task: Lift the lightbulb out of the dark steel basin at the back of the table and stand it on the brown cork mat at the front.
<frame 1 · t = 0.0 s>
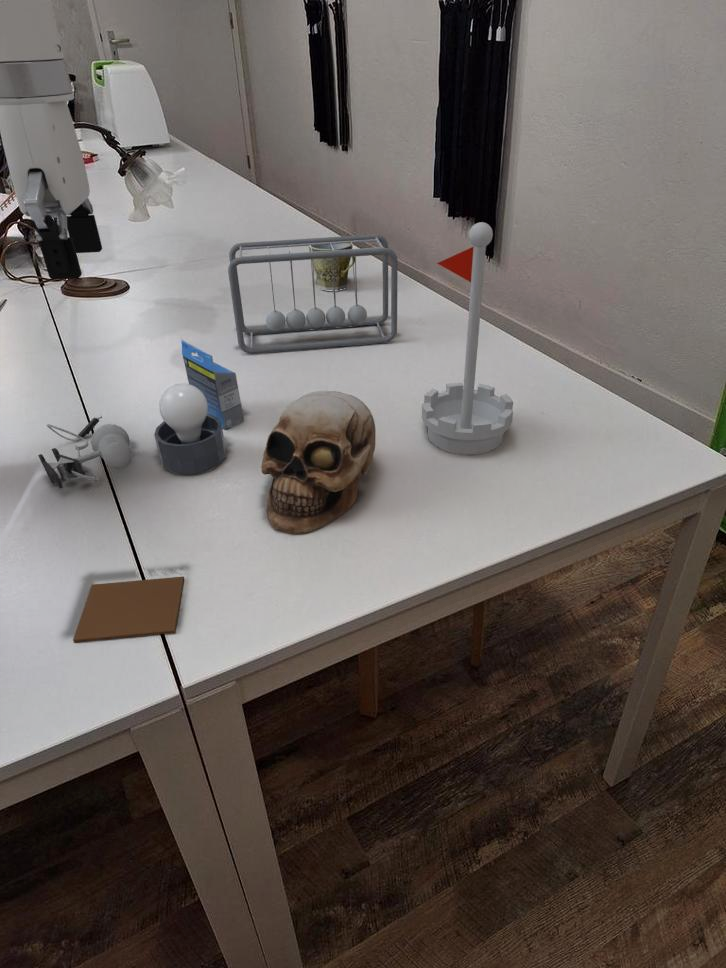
hand: (78, 264, 72), 29 cm above the table, tool pointing down, fingers open, 9 cm apart
newton's cradle: (317, 339, 128), on the table
mat: (132, 609, 69), on the table
lightbulb: (194, 457, 93), resting on basin
flag stand: (465, 435, 97), on the table
clip-on lamp: (90, 463, 93), on the table
label tape box: (218, 417, 103), on the table
ceramic cup: (336, 289, 152), on the table
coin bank: (320, 490, 86), on the table
basin: (194, 459, 93), on the table
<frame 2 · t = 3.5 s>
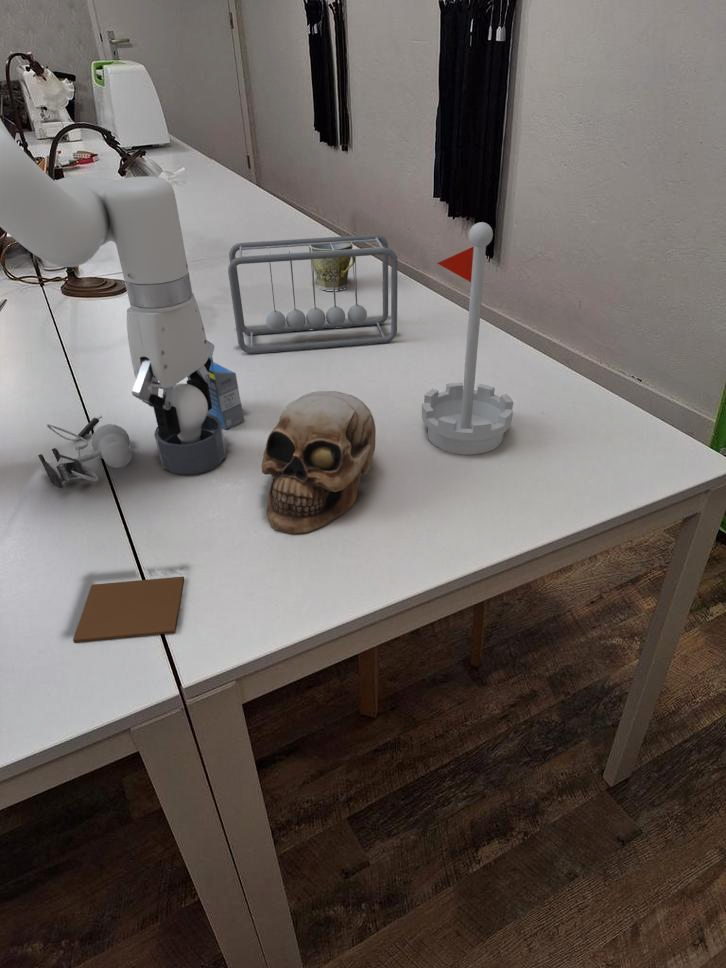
hand: (186, 418, 89), 7 cm above the table, tool pointing down, fingers closed on lightbulb, 6 cm apart
lightbulb: (194, 457, 93), resting on basin, touching gripper
everything else where it was.
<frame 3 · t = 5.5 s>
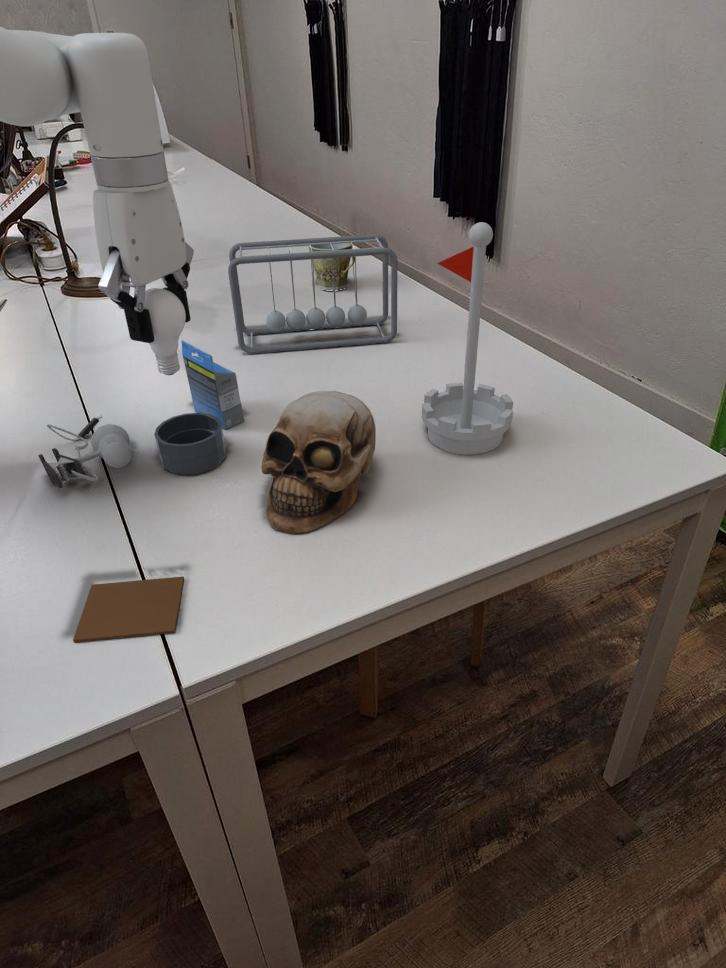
hand: (161, 329, 80), 20 cm above the table, tool pointing down, fingers closed on lightbulb, 6 cm apart
lightbulb: (170, 375, 84), point 14 cm above the table, touching gripper
everything else where it was.
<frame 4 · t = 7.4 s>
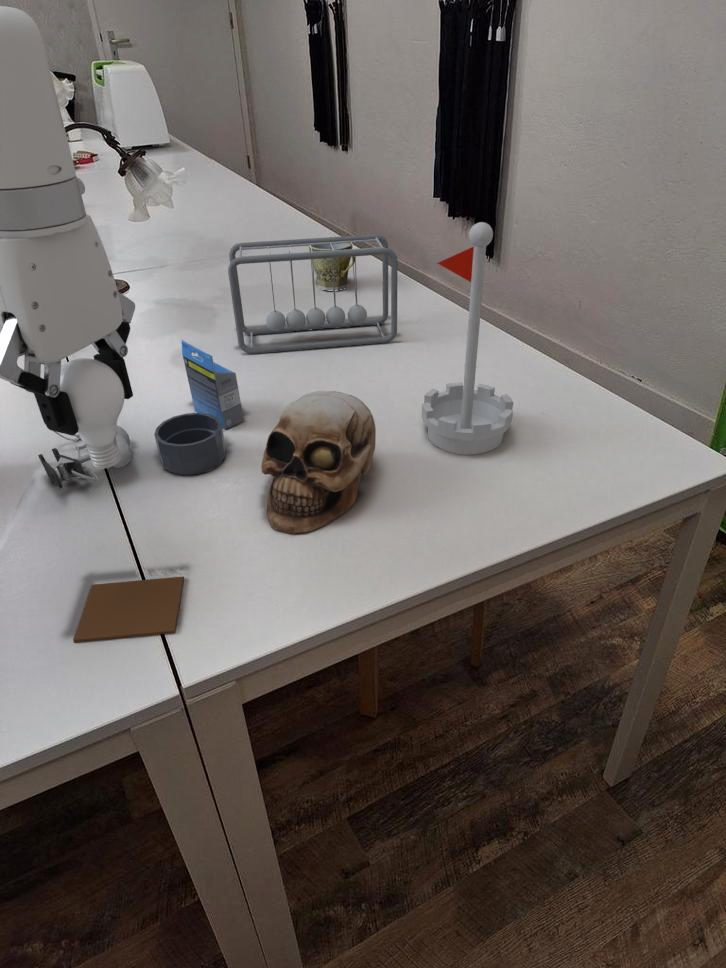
hand: (91, 411, 60), 21 cm above the table, tool pointing down, fingers closed on lightbulb, 6 cm apart
lightbulb: (108, 467, 64), point 15 cm above the table, touching gripper
everything else where it was.
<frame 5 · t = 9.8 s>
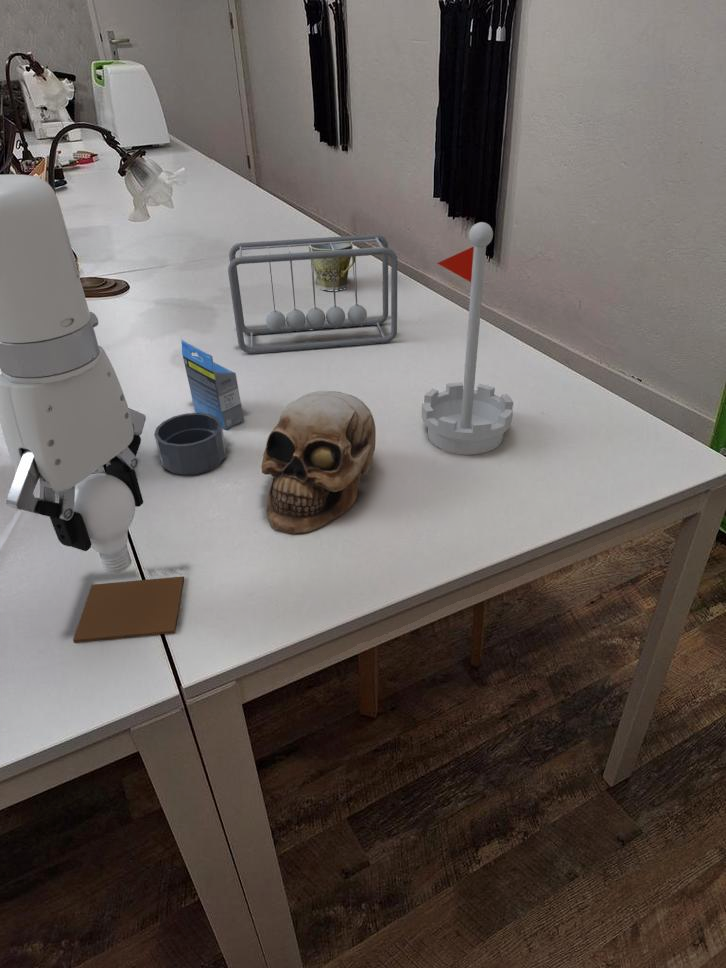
hand: (103, 522, 62), 12 cm above the table, tool pointing down, fingers closed on lightbulb, 6 cm apart
lightbulb: (119, 570, 66), point 6 cm above the table, touching gripper
everything else where it was.
when the fingers open (6 cm above the table, at t = 11.6 s): lightbulb stays where it is, resting on mat.
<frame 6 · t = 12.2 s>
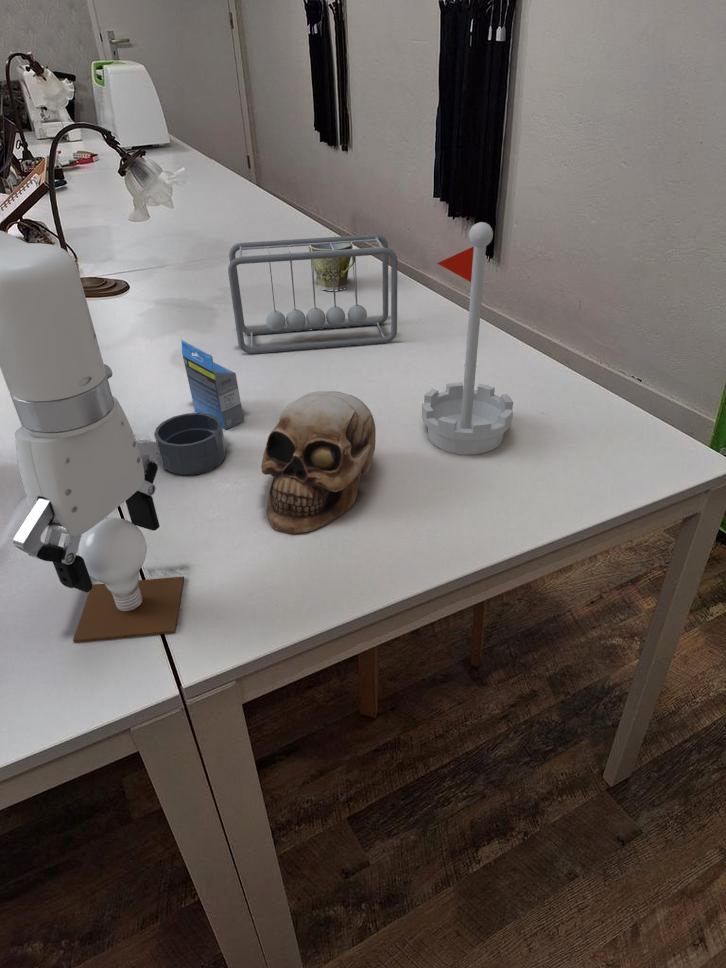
hand: (114, 554, 65), 8 cm above the table, tool pointing down, fingers open, 9 cm apart
lightbulb: (131, 607, 69), resting on mat
everything else where it was.
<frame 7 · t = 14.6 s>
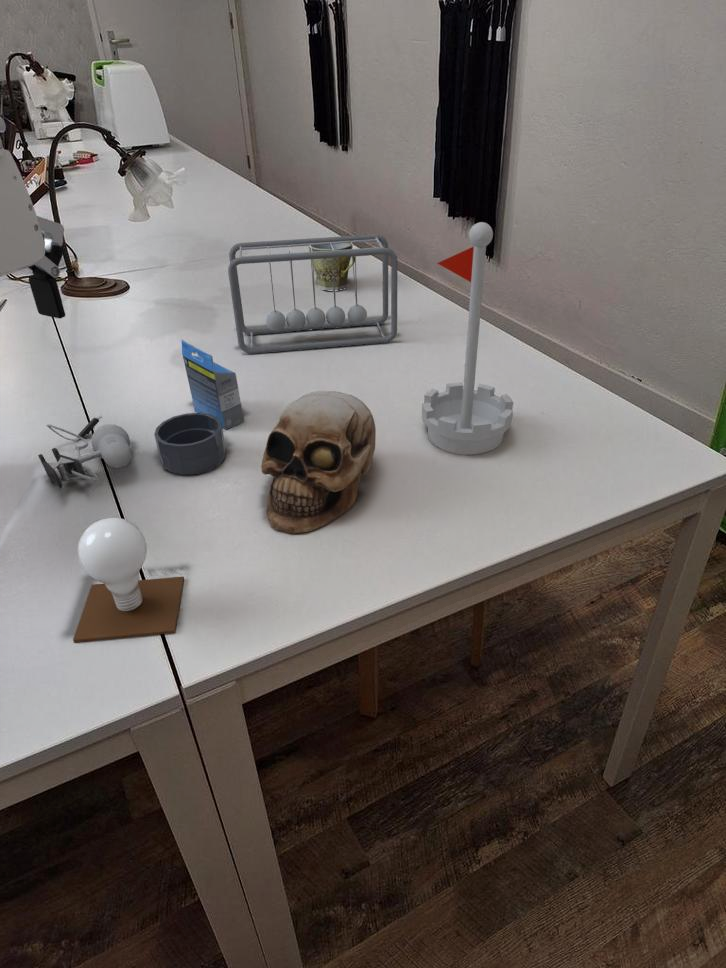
hand: (14, 332, 64), 26 cm above the table, tool pointing down, fingers open, 9 cm apart
nothing on the table moved.
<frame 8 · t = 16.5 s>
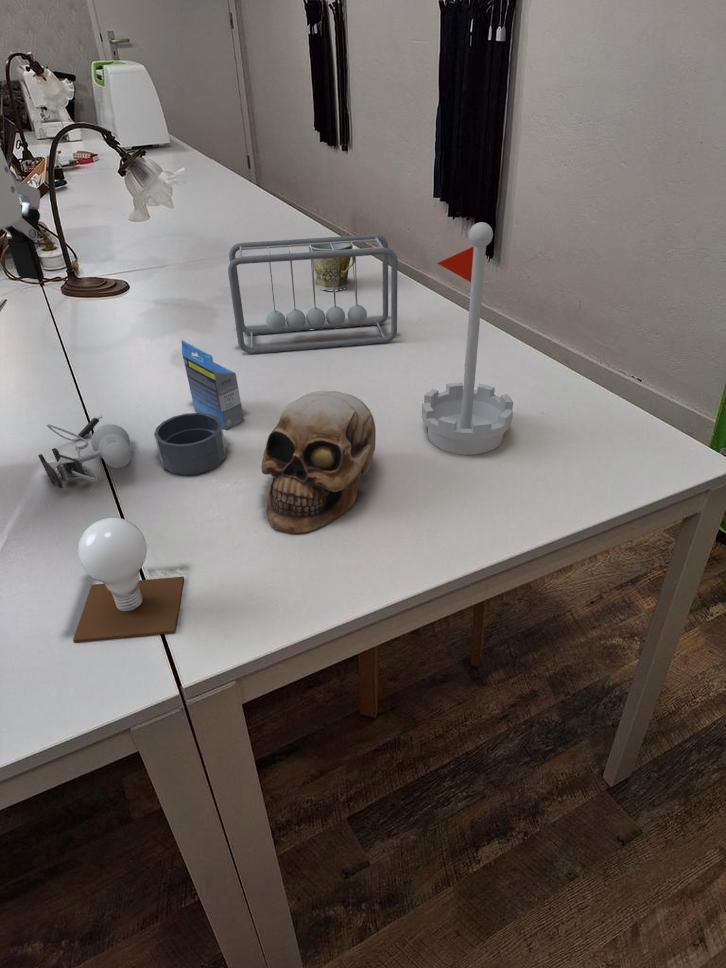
nothing on the table moved.
at the end: lightbulb inside the target area on the mat (0.0 cm from its centre), point 0.2 cm above the mat's base; lightbulb touching mat; the gripper is holding nothing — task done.
